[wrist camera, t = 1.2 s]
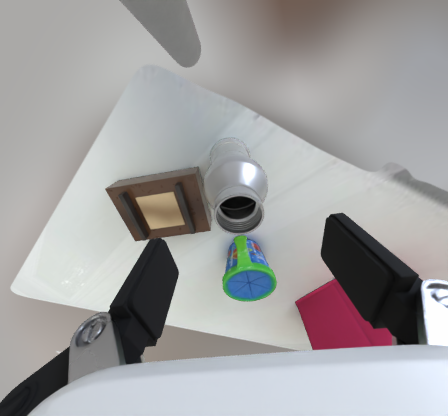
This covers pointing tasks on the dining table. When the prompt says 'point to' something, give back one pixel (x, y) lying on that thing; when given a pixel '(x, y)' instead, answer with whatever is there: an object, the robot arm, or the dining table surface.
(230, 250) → the snack cup
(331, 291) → the storage bin
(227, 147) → the silver metal bottle
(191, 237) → the dining table surface
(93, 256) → the dining table surface
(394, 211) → the dining table surface
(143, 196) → the brown wooden base
